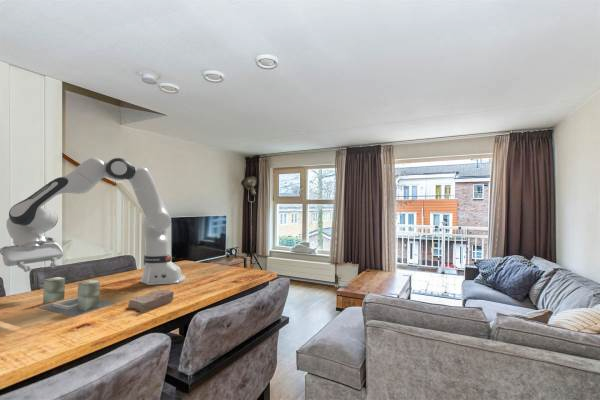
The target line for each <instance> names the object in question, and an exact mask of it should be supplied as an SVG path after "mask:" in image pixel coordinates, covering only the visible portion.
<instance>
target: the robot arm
mask: <svg viewBox="0 0 600 400" xmlns="http://www.w3.org/2000/svg"><path fill="white" fill-rule="evenodd" d="M106 177H107V178H110V179H113V180H115V181H124V180H127V181H128V182H129V183H130V184H131V186H132V189H133V192H134V194H135V197H136V199H137V201H138V204H139V206H140V208H141V210H142V212H143V214H144V236H145V249H144V252H145V254H144V257H143V273H142V277H141V279H140V283H142V284H146V285H148V286H151V285H152V286H153V285H154V286H155V285H169V284H170V285H172V284H180V283H182V282H185V280H186V275H182V270H181V269H182V268H181V267H180V266H178V265H177V264H175V262H172V255H170V254H168V245H169V244H168V243H169V239H168V234H167V229H169V228H170V226H171V224H172V218H171V215H170V214H169V211H168V209H167V206H166V205H165V203H164V201H163V199H162V197H161V195H160V193H159V189H158V187H157V184H156V182H155V179H154V177H153V176H152V174H151V172H150V171H149V169H148V168H146V167H144V166H140V167H139V166H138V167H137V166H136V167H135V166H134V165H132V163H130V162H129V161H128V160H126V159H125V158H121V157H115V158H112V159H110V160H108V162H106V161H103V160H102V159H101V158H98V157H89V158H88V159H85V160H84V161H83V162H82V163H79V165H77V166H76V167H75V169H73V170H72V171H71V172H69V173H68V174H66V175H64V176H61V177H57V178H55V179H52V180H51V181H49V182H48V183H47V184H45V185H44V186H42V187H41V188H39V189H37V191H35V192H34V193H32V194H31V195H30V196H28V197H27V198H25V199H23V200H21V201H19V202H17V203H16V204H13V206H11V208H10V209H9V211H8V218H7V220H6V229H7V232H8V234H9V236H10V238H12V241H13V245H9V246H7V245H6V246H3V247H1V248H0V255H1V256H2V261H3V264H4V266H6V267H12V266H13V267H14V266H17V267H18V268H19V269H22V270H23V272H24V273H27V272H30V271H31V267H30V265H28V264H35V263H41V262H42V263H43V262H47V261H48V262H49V261H50V264H49V266H50V268H51V269H53V268H56V267H57V263H56V261H57V260H61V258H62V257H63V256H64V254H65V252H64V250H63V249H62V247H61V246H60V244H59V243H57V242H56V238H54V237H48V236H43V235H41V234H43V233H46V232H48V231H50V230H52V229H53V228H55V226H56V225H57V223H58V220H59V219H58V218H59V217H58V215H57V214H56V212H53V211H51V210H48V209H47V208H43V206H44V205H45V204H47V203H48V202H50V200H52V199H54V198H55V197H56V196H58V195H61V194H76V195H80V194H82V195H83V194H85V193H87V192H90V191H91V190H92V189H93V188H95V186H96V185H97V184H98V183H99V182H100V181H101V180H102V179H104V178H106Z"/></svg>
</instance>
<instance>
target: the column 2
mask: <svg viewBox="0 0 600 400" xmlns="http://www.w3.org/2000/svg"><path fill="white" fill-rule="evenodd" d="M100 288H101V281H100V280H94V279H91V280H90V279H89V280H85V281H81V282H78V283H77V297H78V301H77V309H81V310H85V311H86V310H89V309H93V308H96V307H99V300H100Z"/></svg>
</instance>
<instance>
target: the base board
mask: <svg viewBox="0 0 600 400" xmlns="http://www.w3.org/2000/svg"><path fill="white" fill-rule="evenodd" d="M77 301H78V296H75V297H72V298H69V299H64V300H62V301H61V300H60V301H56V302H52V303H48V304H46V305H42V306H39V307H37V308H38V309H41V310H44V311H49V312H54V313H57V314H61V315H65V316H69V317H71V318H75V317H79V316H81V315H84V314H88V313H91V312H93V311H94V312H95V311H96V310H100V309H103V308H106V307H109V306H112V305H115V304H117V302H113V301H109V300H104V299H99V307H96V308H93V309H89V310H86V311H85V310H81V309H77Z"/></svg>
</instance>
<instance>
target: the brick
mask: <svg viewBox="0 0 600 400" xmlns="http://www.w3.org/2000/svg"><path fill="white" fill-rule="evenodd" d="M173 300H174V291H173V290H170V289H160V288H159V289H157V290H153V291H150V292H149V293H146V294H143V295H139V296H136V297H133V298H131V299H129V301H128V305H127V308H129V309H136V311H135V313H138V314H144V313H147V312H149V311H150V310H153V309H156V308H159V307H161V306H163V305H166V304H168V303H170V302H172V301H173Z"/></svg>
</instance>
